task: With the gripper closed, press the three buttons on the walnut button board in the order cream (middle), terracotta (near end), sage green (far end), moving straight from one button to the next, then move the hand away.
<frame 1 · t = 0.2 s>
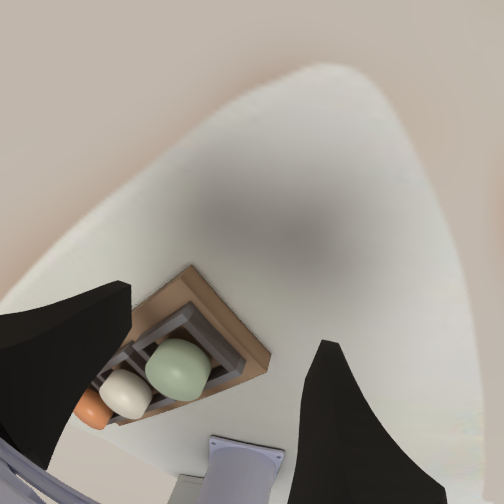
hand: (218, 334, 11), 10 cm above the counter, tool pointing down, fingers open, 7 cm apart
terracotta button: (91, 409, 25), point 4 cm above the counter, slide at 0.0 cm
sage button: (178, 370, 20), point 5 cm above the counter, slide at 0.0 cm
button board: (148, 361, 27), on the counter
cream button: (125, 394, 23), point 5 cm above the counter, slide at 0.0 cm
supplement box: (211, 486, 36), on the counter
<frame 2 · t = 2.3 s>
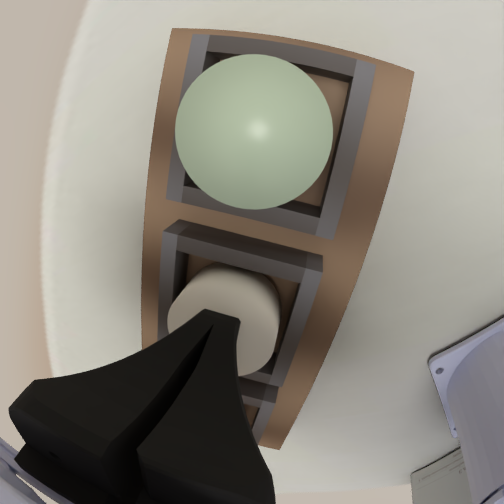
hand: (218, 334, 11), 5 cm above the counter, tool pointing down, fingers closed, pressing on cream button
sage button: (257, 130, 8), point 4 cm above the counter, slide at 0.0 cm
button board: (246, 278, 15), on the counter
cream button: (226, 320, 12), point 4 cm above the counter, slide at 0.9 cm, touching gripper
supplement box: (459, 462, 19), on the counter
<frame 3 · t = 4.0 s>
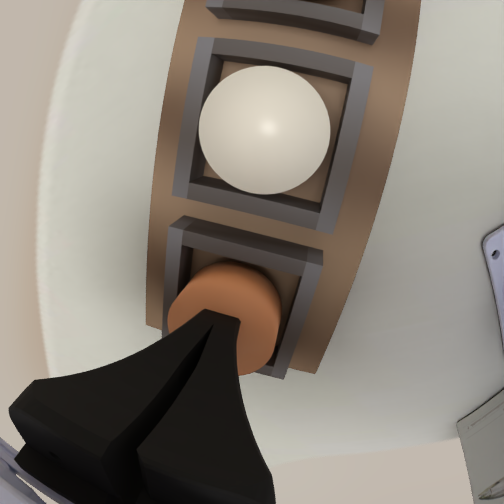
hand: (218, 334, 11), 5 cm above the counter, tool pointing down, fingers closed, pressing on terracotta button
terracotta button: (226, 320, 12), point 4 cm above the counter, slide at 0.4 cm, touching gripper
button board: (279, 128, 13), on the counter
cream button: (267, 129, 10), point 3 cm above the counter, slide at 1.3 cm
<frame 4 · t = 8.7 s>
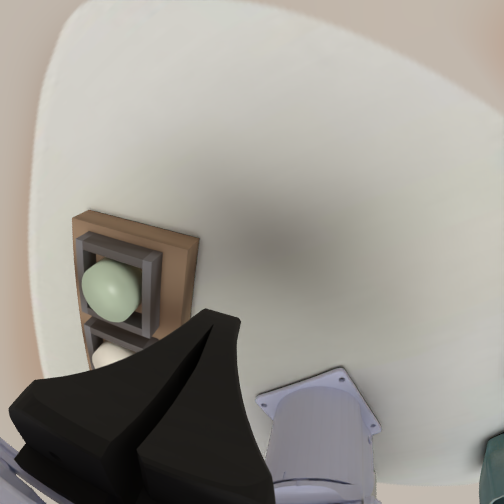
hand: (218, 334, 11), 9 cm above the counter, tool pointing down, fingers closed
sage button: (113, 288, 19), point 3 cm above the counter, slide at 1.3 cm
button board: (137, 339, 25), on the counter
flower pot: (503, 438, 23), on the counter
cream button: (119, 362, 22), point 3 cm above the counter, slide at 1.3 cm
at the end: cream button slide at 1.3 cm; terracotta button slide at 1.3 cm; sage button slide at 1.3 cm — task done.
